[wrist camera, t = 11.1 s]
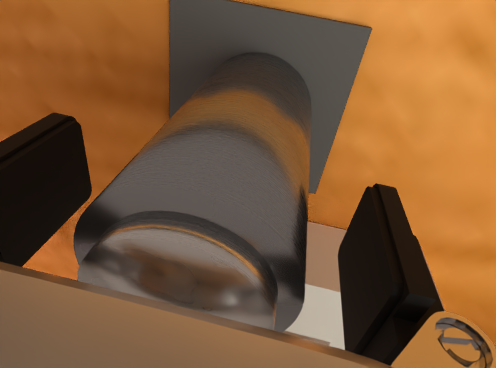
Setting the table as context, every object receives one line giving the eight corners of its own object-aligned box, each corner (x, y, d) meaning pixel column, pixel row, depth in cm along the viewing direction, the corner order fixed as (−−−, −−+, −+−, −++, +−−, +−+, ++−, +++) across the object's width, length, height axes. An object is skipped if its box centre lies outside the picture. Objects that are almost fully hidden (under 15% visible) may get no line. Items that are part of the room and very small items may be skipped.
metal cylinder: (325, 64, 15) (340, 257, 5) (297, 165, 18) (275, 396, 8) (207, 41, 15) (17, 182, 5) (201, 145, 18) (75, 344, 9)
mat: (370, 27, 14) (371, 28, 14) (315, 189, 19) (315, 193, 19) (173, -11, 14) (169, -10, 14) (171, 157, 20) (169, 160, 19)
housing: (421, 247, 20) (447, 318, 16) (341, 365, 29) (345, 429, 25) (178, 191, 21) (145, 245, 17) (175, 323, 30) (153, 379, 26)
